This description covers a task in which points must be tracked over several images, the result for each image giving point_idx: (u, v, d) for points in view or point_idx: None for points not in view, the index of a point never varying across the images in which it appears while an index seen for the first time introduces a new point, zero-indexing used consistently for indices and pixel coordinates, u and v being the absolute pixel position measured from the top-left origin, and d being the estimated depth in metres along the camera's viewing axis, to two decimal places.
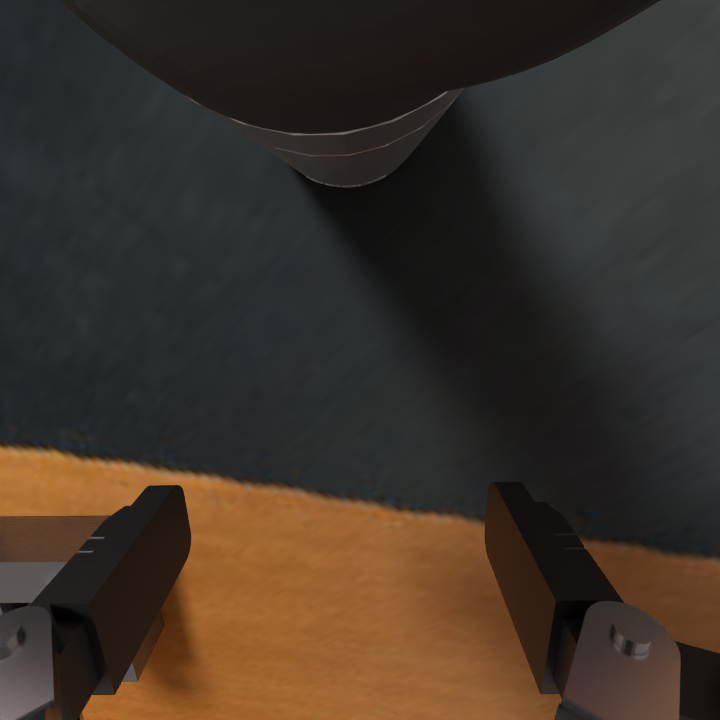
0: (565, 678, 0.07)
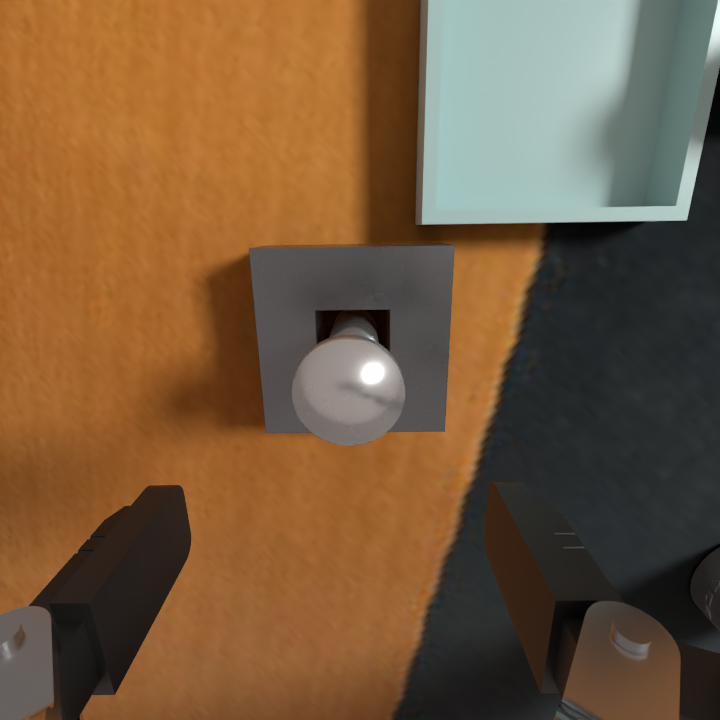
0: (565, 678, 0.07)
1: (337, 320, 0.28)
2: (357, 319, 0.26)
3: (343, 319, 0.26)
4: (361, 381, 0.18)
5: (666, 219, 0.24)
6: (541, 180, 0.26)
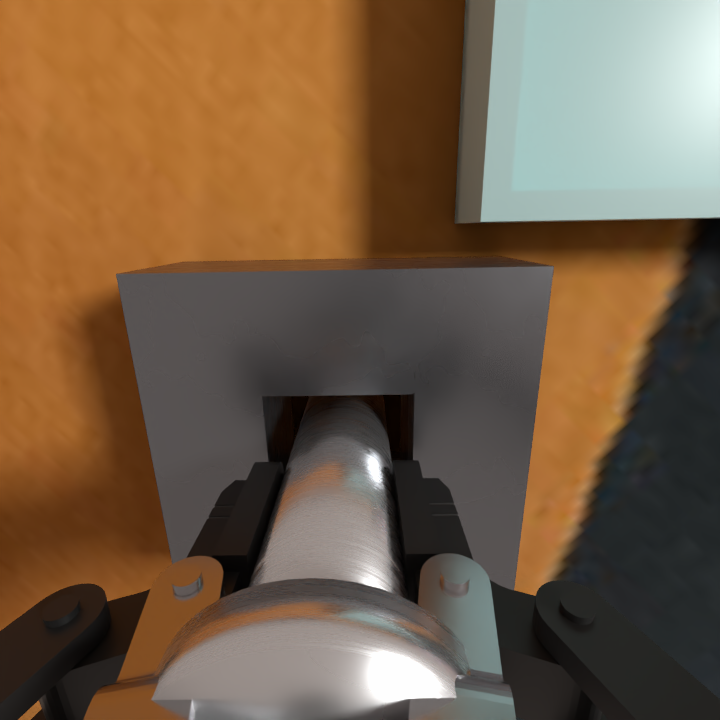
0: None
1: (312, 400, 0.15)
2: (348, 409, 0.13)
3: (322, 405, 0.14)
4: None
5: None
6: (702, 136, 0.14)
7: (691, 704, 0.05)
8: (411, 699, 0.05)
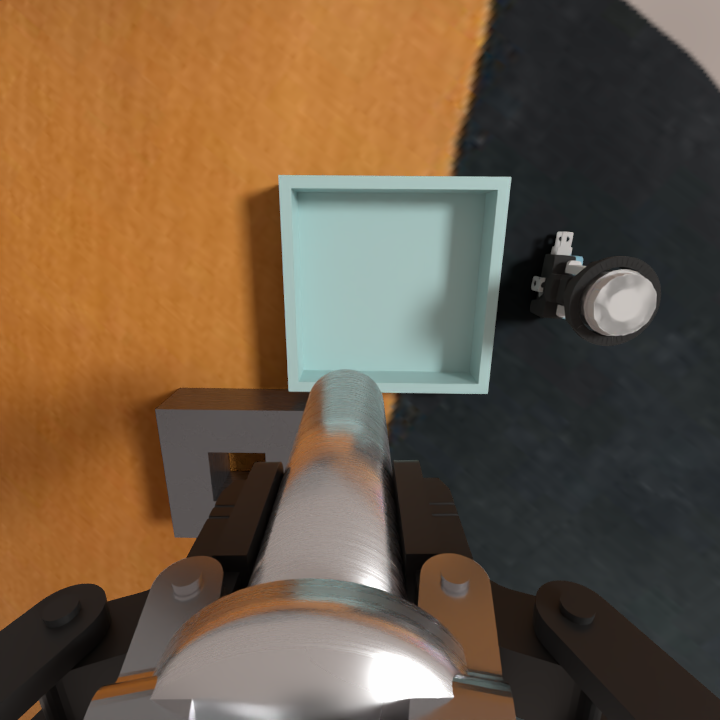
0: None
1: (312, 400, 0.15)
2: (348, 409, 0.13)
3: (321, 405, 0.14)
4: None
5: (472, 392, 0.32)
6: (389, 350, 0.34)
7: (692, 703, 0.05)
8: (411, 699, 0.05)
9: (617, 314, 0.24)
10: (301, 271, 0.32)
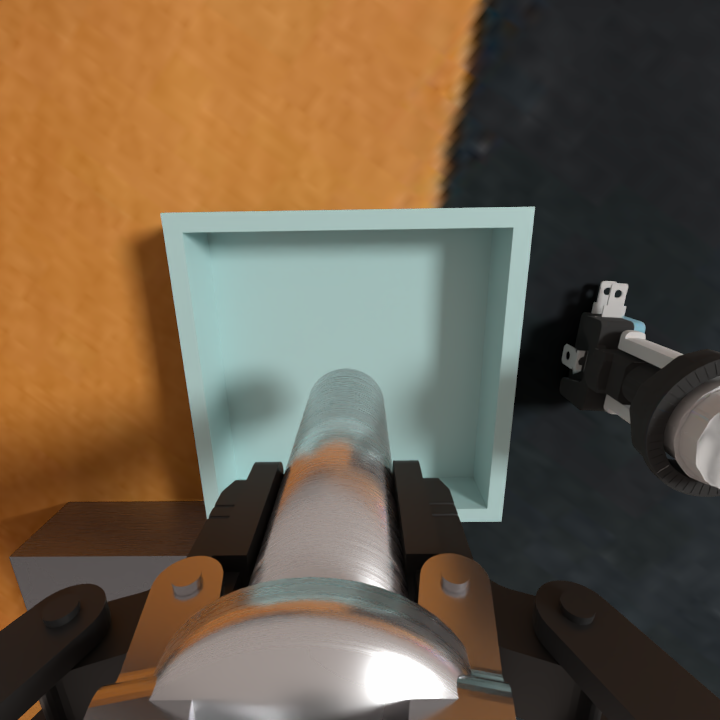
0: None
1: (312, 399, 0.15)
2: (348, 408, 0.13)
3: (322, 404, 0.14)
4: None
5: (478, 520, 0.22)
6: None
7: (692, 703, 0.05)
8: (411, 699, 0.05)
9: None
10: (222, 346, 0.22)
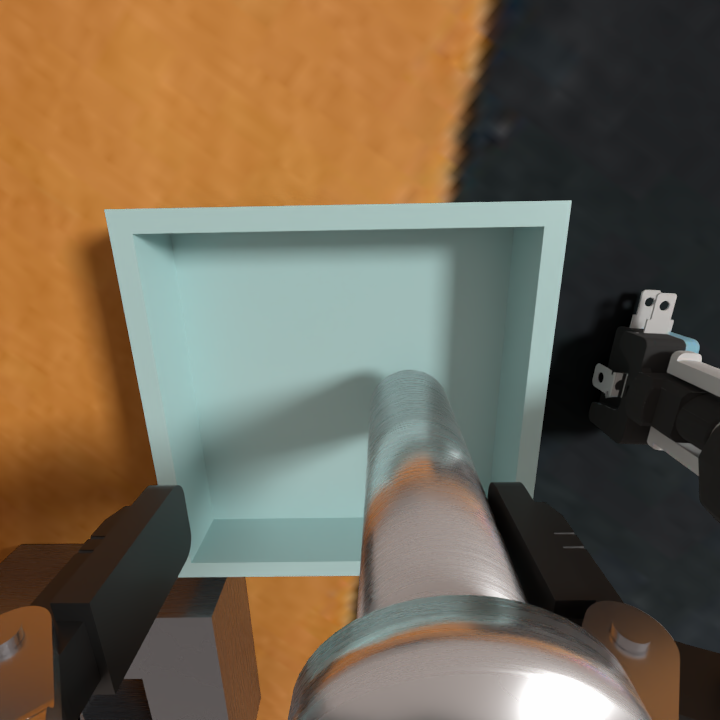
0: None
1: (382, 401, 0.15)
2: (426, 411, 0.13)
3: (396, 406, 0.13)
4: None
5: None
6: (352, 487, 0.20)
7: None
8: None
9: None
10: (192, 367, 0.18)
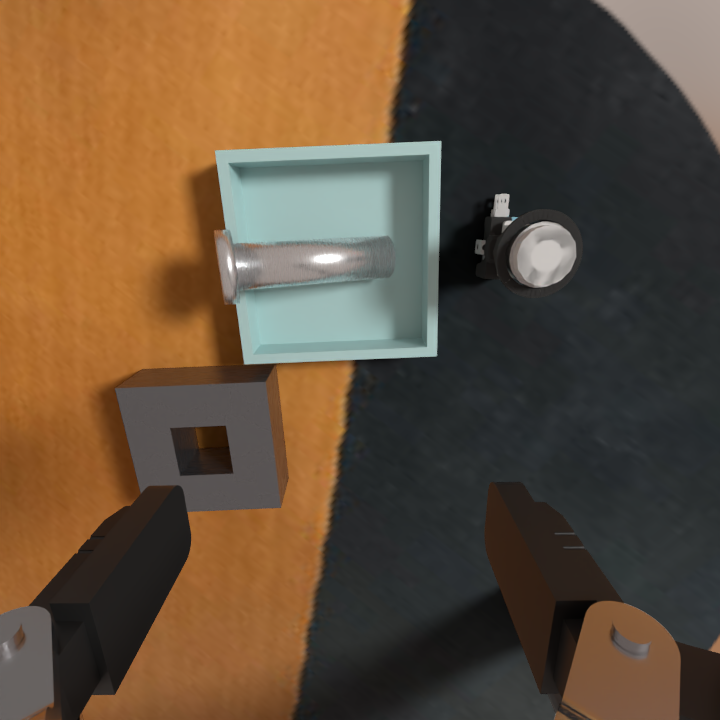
0: (565, 678, 0.07)
1: None
2: (339, 238, 0.30)
3: None
4: (218, 259, 0.27)
5: (422, 356, 0.33)
6: (342, 320, 0.35)
7: None
8: None
9: (540, 265, 0.25)
10: None
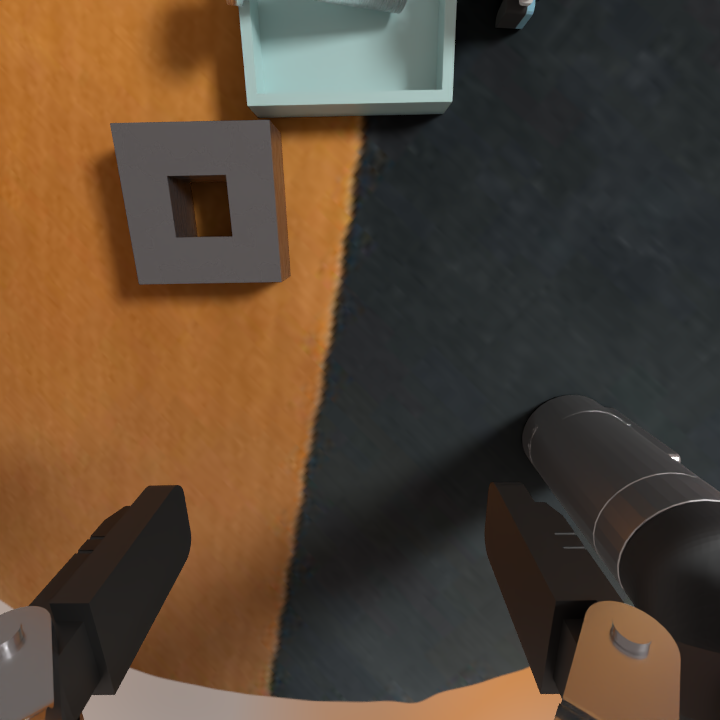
0: (565, 678, 0.07)
1: None
2: None
3: None
4: None
5: (436, 101, 0.31)
6: (352, 77, 0.33)
7: None
8: None
9: None
10: None
